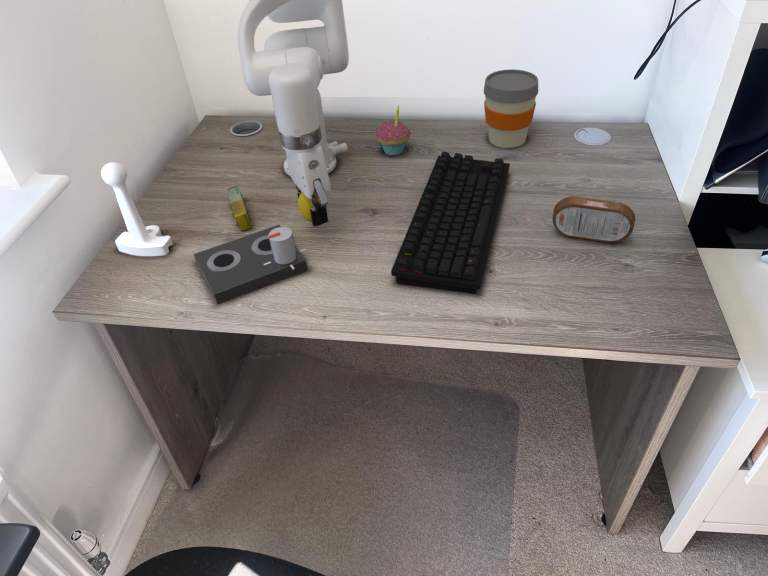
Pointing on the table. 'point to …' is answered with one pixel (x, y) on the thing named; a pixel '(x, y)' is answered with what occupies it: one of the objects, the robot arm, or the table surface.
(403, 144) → the cupcake
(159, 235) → the joystick
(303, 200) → the lemon
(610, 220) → the tin
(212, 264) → the burners
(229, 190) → the medication box
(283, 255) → the hob knob
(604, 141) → the table surface
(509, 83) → the reusable coffee cup
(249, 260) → the hob
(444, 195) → the keyboard
